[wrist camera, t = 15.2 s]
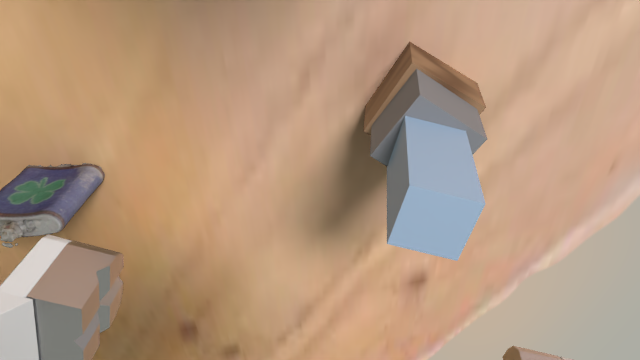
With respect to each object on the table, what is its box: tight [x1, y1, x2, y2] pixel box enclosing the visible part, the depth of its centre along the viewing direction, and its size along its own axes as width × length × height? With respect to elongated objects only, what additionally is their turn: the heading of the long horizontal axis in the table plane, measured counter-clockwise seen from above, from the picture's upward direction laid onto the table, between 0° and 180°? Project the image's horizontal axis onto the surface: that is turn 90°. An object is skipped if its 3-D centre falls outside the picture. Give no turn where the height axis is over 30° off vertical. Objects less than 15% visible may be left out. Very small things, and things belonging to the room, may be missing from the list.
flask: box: [0, 163, 104, 248], centre depth 52 cm, size 9×3×11 cm, turn 95°
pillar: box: [387, 116, 485, 261], centre depth 36 cm, size 4×4×9 cm
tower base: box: [364, 42, 486, 135], centre depth 46 cm, size 7×7×5 cm
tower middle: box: [370, 69, 487, 166], centre depth 41 cm, size 6×6×5 cm
